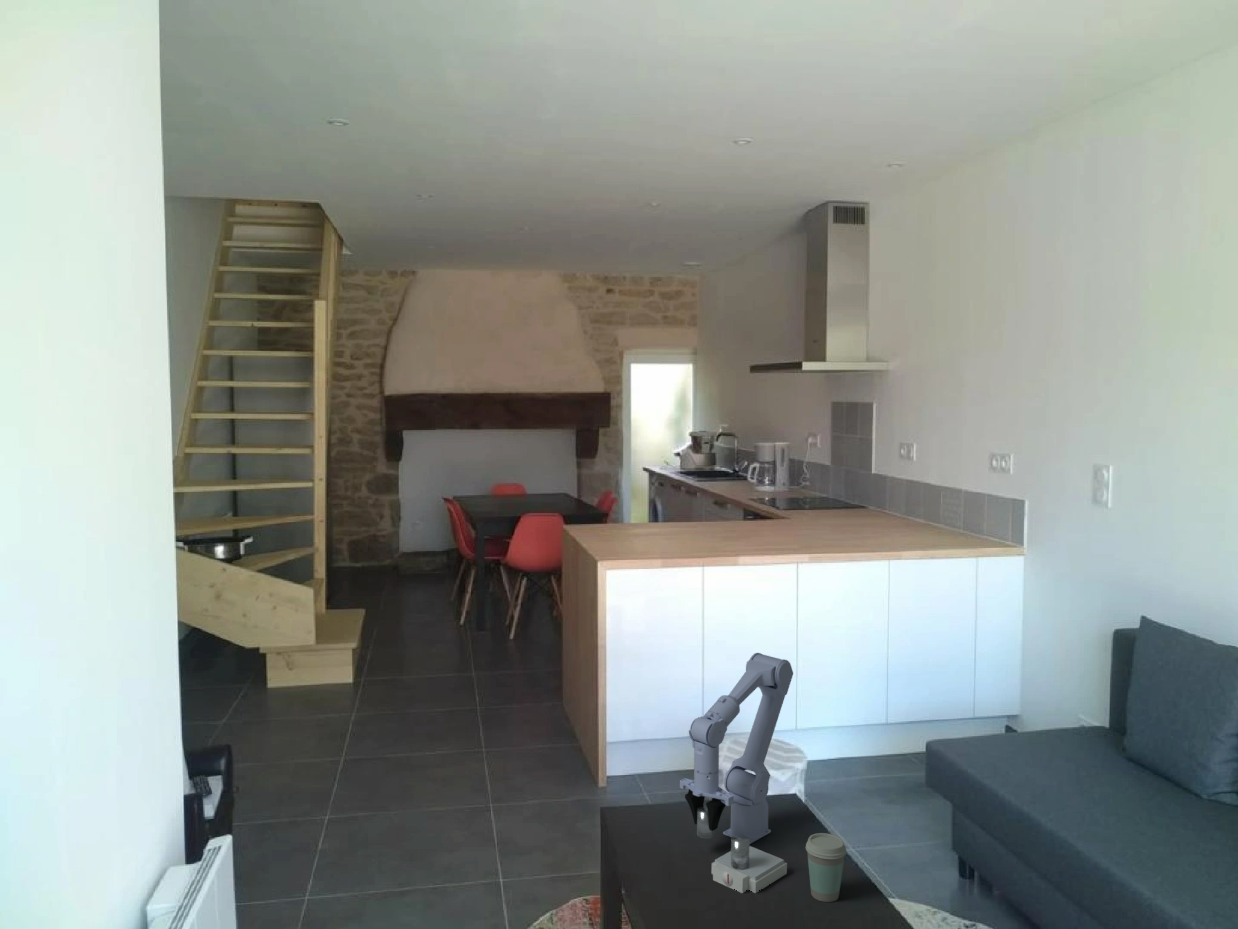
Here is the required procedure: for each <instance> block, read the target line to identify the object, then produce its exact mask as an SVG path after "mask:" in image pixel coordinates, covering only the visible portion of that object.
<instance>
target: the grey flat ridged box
mask: <svg viewBox="0 0 1238 929" xmlns="http://www.w3.org/2000/svg"><path fill="white" fill-rule="evenodd" d="M787 871H788V863H787V862H785V859H783V858H781V857H778V856H776V855H773V854H771V853H768V852H765V851H763V850H760V849H758V848H756V847H753V846H751V845H749V868H747V869H745V870H738V869H734V868H733V867H732V866H731V850H730V851H728V852H726V853H725V854H723V855H721V856H719V857H717V858H716V859H714V861H713V862H711V875H712V880H713V881H714V882H716V883H719V884H721V885H723V886H725V887H727V888H729V889H732V890H734V889H735V890H734V891H736V890H737V892H739V893H740V894H744V893H745V892H747V891H749V890H750V891H749V892H751V891H752V892H751V893H754V894H757V893H758V892H760V891H761V889H762V890H763V889H765V888H766V887H768V886H769V884H770V885H771V884H773V883H774V882H776V881H777V880H779V879H781V878H782V877H785V875H787V874H788V872H787ZM746 890H747V891H746ZM759 890H760V891H759Z"/></svg>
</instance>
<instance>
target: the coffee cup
mask: <svg viewBox="0 0 1238 929" xmlns="http://www.w3.org/2000/svg"><path fill="white" fill-rule="evenodd" d="M805 851H806V852H807V863H808V874H809V875H808V876H809V883H810V884H809V885H810V894H811V896H812V898H814V899H815V900H817V901H819V902H823V903H831V902H836V901H837V900H839V896H840V891H841V890H840V889H841V885H842V884H841V883H842V876H843V870H844V863H845V856H846V855H847V847H846V845H845V842H844V840H843V839H842V838H841V837H839V836H837V835H835V834H832V833H825V832H820V833H819V832H818V833H814V834H810V836H809V837H808V838H807V842H806V844H805Z"/></svg>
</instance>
